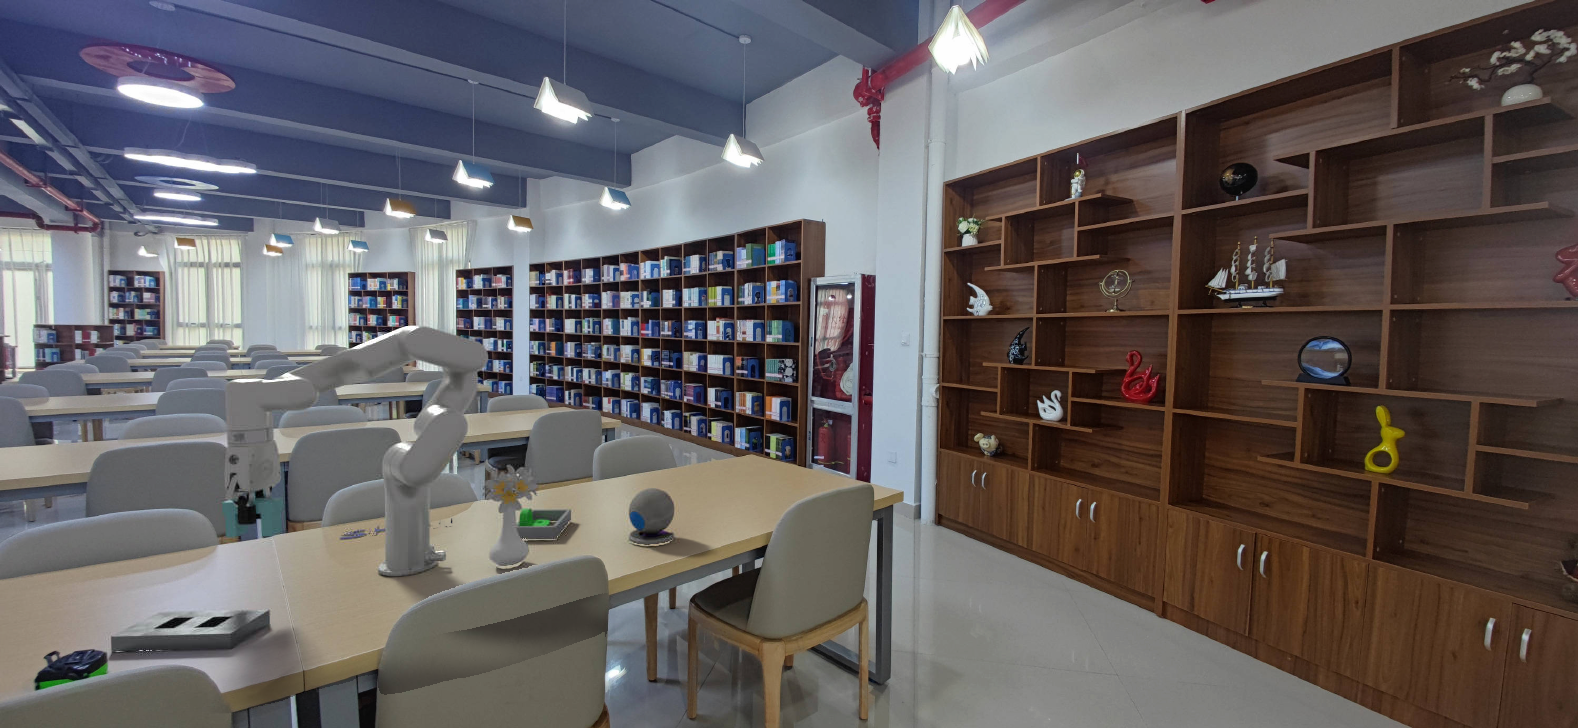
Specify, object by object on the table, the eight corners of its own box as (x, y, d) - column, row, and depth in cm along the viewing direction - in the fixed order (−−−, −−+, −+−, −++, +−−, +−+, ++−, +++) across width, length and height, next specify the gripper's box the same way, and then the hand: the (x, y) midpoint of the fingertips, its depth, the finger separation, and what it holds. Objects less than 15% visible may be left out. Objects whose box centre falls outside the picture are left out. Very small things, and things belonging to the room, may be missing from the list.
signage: (338, 539, 175) (342, 529, 183) (338, 541, 175) (342, 531, 183) (452, 525, 189) (451, 516, 198) (452, 527, 189) (451, 518, 198)
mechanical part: (540, 538, 181) (540, 511, 180) (519, 538, 180) (519, 511, 180) (552, 525, 193) (552, 500, 192) (532, 525, 192) (532, 500, 192)
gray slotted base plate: (269, 624, 125) (269, 609, 125) (230, 649, 115) (230, 633, 115) (160, 626, 123) (160, 611, 123) (111, 652, 113) (110, 636, 113)
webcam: (682, 538, 183) (683, 488, 182) (651, 550, 172) (651, 497, 172) (650, 530, 190) (651, 481, 189) (618, 541, 179) (619, 489, 178)
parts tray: (571, 521, 196) (571, 509, 196) (555, 540, 178) (555, 526, 178) (531, 522, 195) (531, 509, 195) (512, 541, 177) (512, 527, 177)
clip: (284, 531, 136) (283, 497, 135) (274, 536, 133) (273, 501, 132) (234, 532, 134) (233, 498, 134) (223, 537, 132) (221, 502, 131)
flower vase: (489, 583, 147) (489, 479, 146) (478, 559, 163) (478, 464, 162) (546, 572, 155) (546, 473, 154) (530, 550, 170) (531, 460, 169)
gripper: (240, 443, 125) (243, 533, 126) (295, 430, 141) (298, 510, 142) (199, 443, 124) (203, 534, 125) (260, 430, 140) (263, 510, 141)
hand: (253, 520), depth 133 cm, fingers closed on clip, 3 cm apart
